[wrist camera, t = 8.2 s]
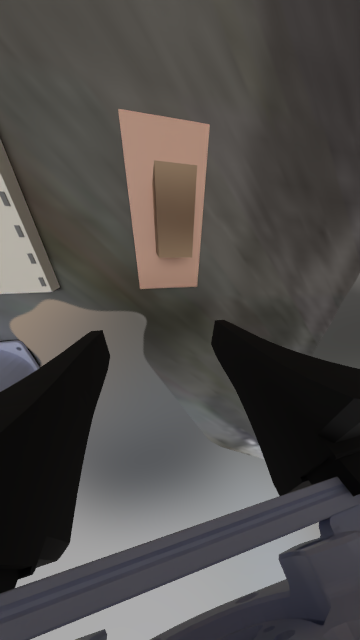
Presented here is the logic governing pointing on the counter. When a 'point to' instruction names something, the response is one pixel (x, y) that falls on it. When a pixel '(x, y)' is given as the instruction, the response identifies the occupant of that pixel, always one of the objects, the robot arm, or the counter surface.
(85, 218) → the counter surface
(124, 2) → the counter surface
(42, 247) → the board
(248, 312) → the counter surface
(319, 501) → the robot arm
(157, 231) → the stub
